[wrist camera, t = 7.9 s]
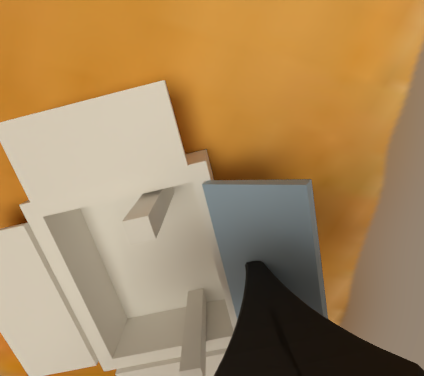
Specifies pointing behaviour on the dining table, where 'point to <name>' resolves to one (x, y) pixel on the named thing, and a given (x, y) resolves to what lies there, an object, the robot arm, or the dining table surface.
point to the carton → (112, 243)
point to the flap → (268, 234)
